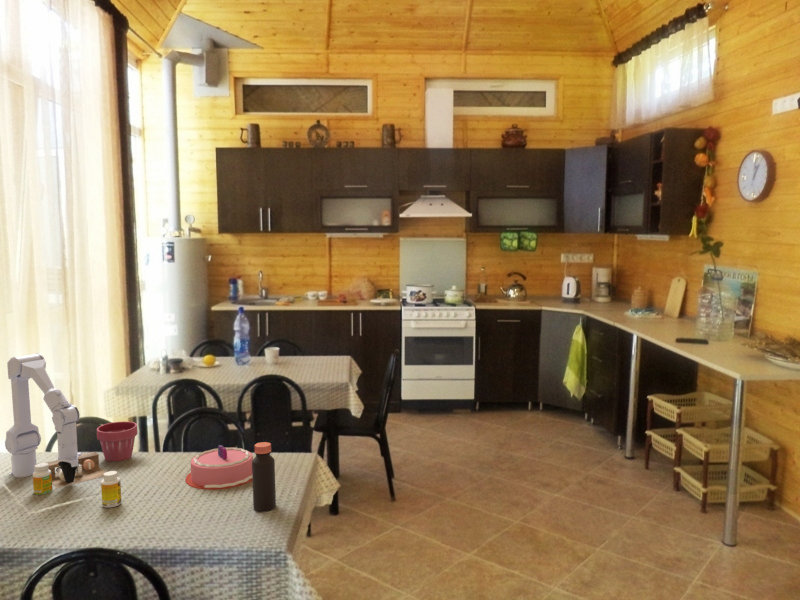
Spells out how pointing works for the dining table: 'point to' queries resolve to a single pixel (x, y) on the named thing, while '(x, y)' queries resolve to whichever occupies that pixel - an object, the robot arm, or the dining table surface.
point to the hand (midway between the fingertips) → (69, 482)
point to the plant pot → (117, 440)
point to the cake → (220, 469)
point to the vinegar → (263, 478)
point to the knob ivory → (60, 473)
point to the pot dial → (79, 472)
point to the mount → (87, 475)
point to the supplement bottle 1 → (42, 479)
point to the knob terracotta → (88, 464)
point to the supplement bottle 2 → (111, 489)
